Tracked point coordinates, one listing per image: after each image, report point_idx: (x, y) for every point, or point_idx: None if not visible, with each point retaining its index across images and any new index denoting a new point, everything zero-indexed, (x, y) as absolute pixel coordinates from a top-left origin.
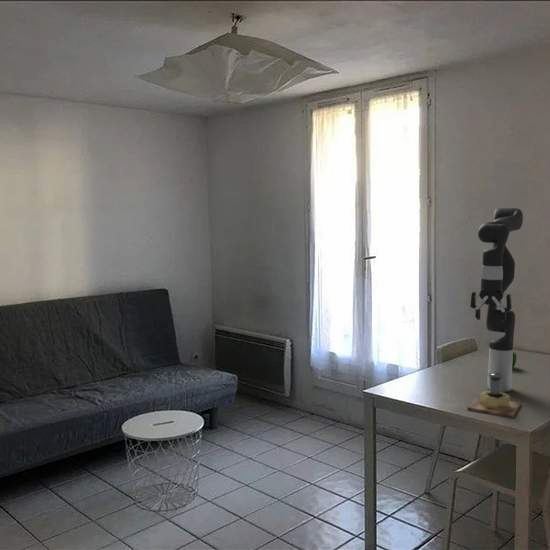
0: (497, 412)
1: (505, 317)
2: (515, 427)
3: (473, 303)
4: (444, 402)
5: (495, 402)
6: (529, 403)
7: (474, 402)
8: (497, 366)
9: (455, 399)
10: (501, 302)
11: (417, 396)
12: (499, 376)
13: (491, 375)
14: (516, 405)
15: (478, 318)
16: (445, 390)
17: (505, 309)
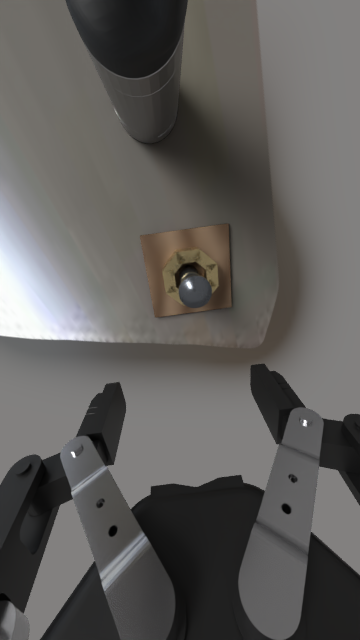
0: (205, 310)
1: (286, 388)
2: (242, 342)
3: (43, 537)
4: (104, 303)
5: None
6: (239, 194)
7: (152, 283)
8: (144, 113)
9: (109, 272)
10: (314, 491)
11: (46, 302)
12: (208, 300)
13: (190, 307)
14: (224, 248)
15: (123, 414)
16: (58, 223)
17: (322, 457)
